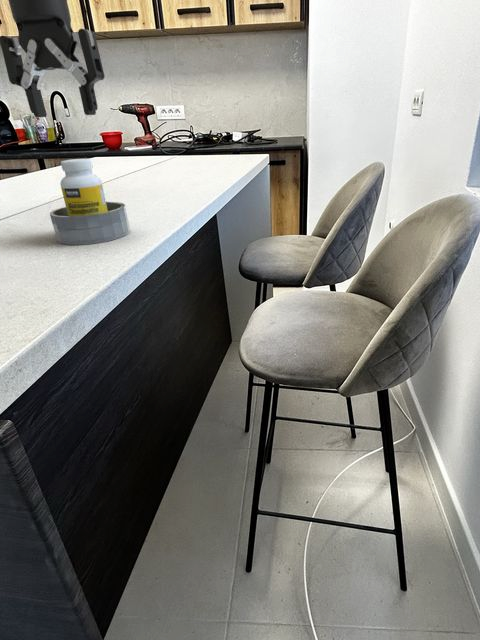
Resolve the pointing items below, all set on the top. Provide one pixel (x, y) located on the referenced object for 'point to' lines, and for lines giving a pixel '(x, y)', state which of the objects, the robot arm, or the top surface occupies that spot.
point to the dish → (91, 225)
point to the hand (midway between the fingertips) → (65, 116)
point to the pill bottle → (82, 188)
